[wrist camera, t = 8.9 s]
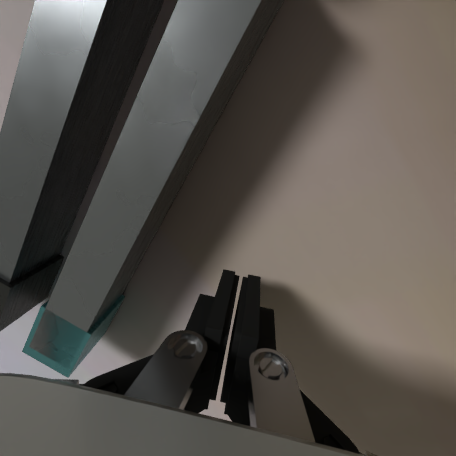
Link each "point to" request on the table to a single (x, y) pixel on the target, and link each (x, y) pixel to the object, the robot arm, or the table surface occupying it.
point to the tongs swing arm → (148, 169)
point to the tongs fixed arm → (60, 131)
